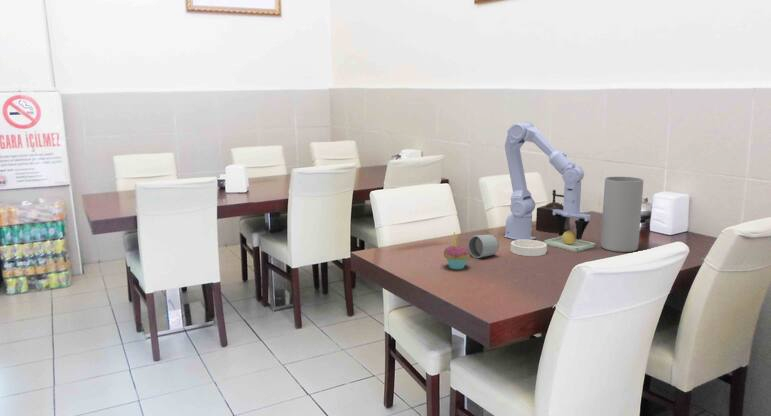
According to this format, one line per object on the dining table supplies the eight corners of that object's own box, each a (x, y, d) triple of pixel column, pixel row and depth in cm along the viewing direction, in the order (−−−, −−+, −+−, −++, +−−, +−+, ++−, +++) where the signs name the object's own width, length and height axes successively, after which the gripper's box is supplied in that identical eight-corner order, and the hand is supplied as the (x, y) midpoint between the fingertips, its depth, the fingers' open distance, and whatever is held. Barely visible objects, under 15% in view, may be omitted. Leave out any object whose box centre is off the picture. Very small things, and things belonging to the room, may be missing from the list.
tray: (544, 244, 213) (544, 240, 213) (562, 239, 219) (562, 235, 219) (576, 252, 202) (577, 248, 202) (595, 247, 208) (595, 243, 208)
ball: (558, 243, 211) (559, 230, 210) (568, 241, 214) (568, 228, 213) (569, 246, 207) (570, 233, 206) (579, 244, 210) (579, 231, 209)
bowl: (503, 250, 204) (504, 243, 204) (526, 245, 211) (526, 238, 211) (530, 258, 195) (531, 250, 194) (553, 252, 202) (553, 244, 201)
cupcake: (462, 272, 179) (463, 235, 177) (438, 268, 184) (438, 231, 182) (474, 265, 187) (474, 229, 184) (450, 261, 191) (450, 226, 189)
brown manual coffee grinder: (560, 234, 228) (563, 189, 225) (534, 230, 235) (536, 186, 232) (576, 227, 240) (579, 184, 236) (551, 223, 247) (553, 182, 243)
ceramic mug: (500, 256, 197) (500, 234, 196) (482, 260, 193) (483, 237, 191) (478, 250, 206) (479, 229, 204) (461, 254, 201) (461, 232, 200)
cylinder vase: (594, 248, 207) (599, 179, 202) (608, 242, 216) (613, 175, 211) (630, 254, 198) (635, 182, 194) (643, 247, 207) (648, 178, 202)
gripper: (548, 198, 211) (546, 235, 213) (582, 204, 199) (580, 242, 202) (560, 196, 215) (558, 232, 218) (594, 202, 204) (592, 239, 206)
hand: (569, 237), depth 210 cm, fingers open, 7 cm apart
